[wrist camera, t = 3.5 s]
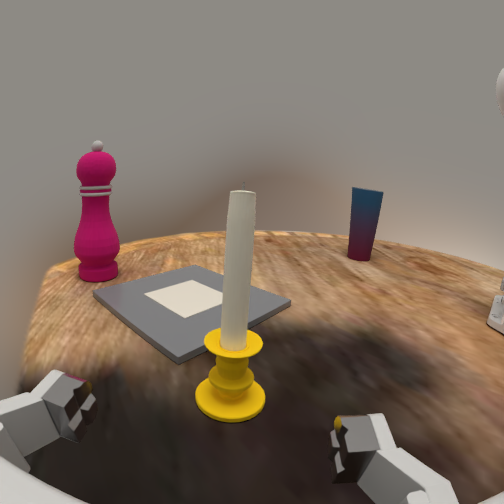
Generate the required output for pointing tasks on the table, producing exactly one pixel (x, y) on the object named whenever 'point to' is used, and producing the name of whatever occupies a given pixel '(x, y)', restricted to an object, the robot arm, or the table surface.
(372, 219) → the cup
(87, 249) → the pepper mill
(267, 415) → the table surface
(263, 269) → the table surface
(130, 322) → the tile
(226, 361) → the candle
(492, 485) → the table surface
